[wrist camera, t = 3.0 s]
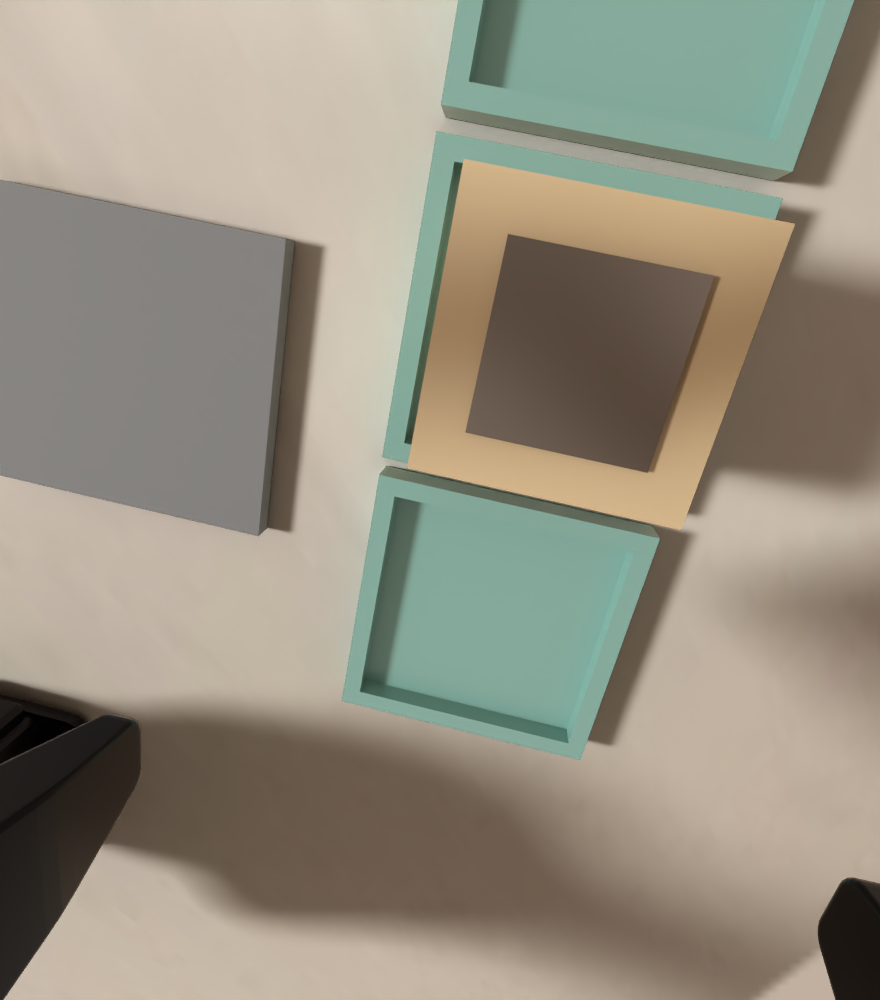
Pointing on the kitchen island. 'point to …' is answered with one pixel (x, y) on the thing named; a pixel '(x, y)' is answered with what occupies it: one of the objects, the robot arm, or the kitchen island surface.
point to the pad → (140, 355)
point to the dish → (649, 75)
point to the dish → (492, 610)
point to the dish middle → (437, 234)
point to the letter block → (588, 340)
